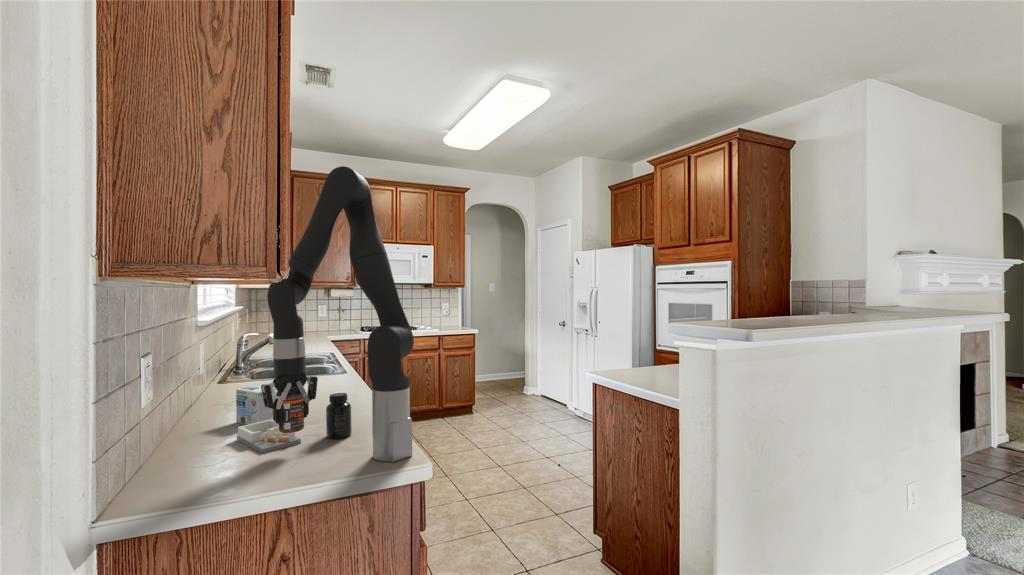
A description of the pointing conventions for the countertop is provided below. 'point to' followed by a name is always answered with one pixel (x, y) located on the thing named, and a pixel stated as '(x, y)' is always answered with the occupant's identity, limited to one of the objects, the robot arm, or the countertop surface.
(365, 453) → the countertop surface
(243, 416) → the light bulb box
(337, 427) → the supplement bottle
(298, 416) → the supplement bottle
